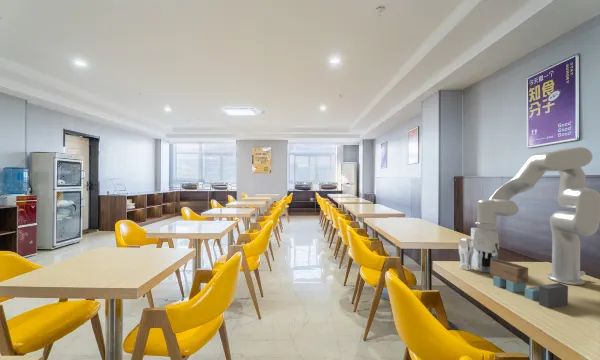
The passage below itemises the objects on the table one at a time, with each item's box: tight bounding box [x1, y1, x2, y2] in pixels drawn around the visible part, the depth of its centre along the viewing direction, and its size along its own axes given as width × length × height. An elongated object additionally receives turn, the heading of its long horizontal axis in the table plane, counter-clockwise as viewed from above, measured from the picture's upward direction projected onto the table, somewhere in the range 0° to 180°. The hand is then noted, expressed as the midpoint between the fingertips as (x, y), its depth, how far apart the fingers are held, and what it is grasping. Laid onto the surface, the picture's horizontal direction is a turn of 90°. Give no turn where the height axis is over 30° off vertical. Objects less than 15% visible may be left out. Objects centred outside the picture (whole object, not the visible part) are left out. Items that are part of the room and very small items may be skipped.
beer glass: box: [458, 237, 474, 271], centre depth 151 cm, size 7×7×15 cm
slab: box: [489, 259, 529, 284], centre depth 125 cm, size 6×12×6 cm, turn 16°
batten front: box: [505, 280, 527, 294], centre depth 122 cm, size 7×3×4 cm, turn 106°
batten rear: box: [492, 275, 506, 288], centre depth 128 cm, size 7×3×4 cm, turn 106°
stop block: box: [538, 282, 569, 309], centre depth 108 cm, size 10×3×7 cm, turn 106°
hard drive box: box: [470, 227, 499, 273], centre depth 152 cm, size 16×8×20 cm, turn 168°
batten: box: [524, 286, 539, 301], centre depth 115 cm, size 7×3×4 cm, turn 106°
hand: (486, 266), depth 136 cm, fingers closed
